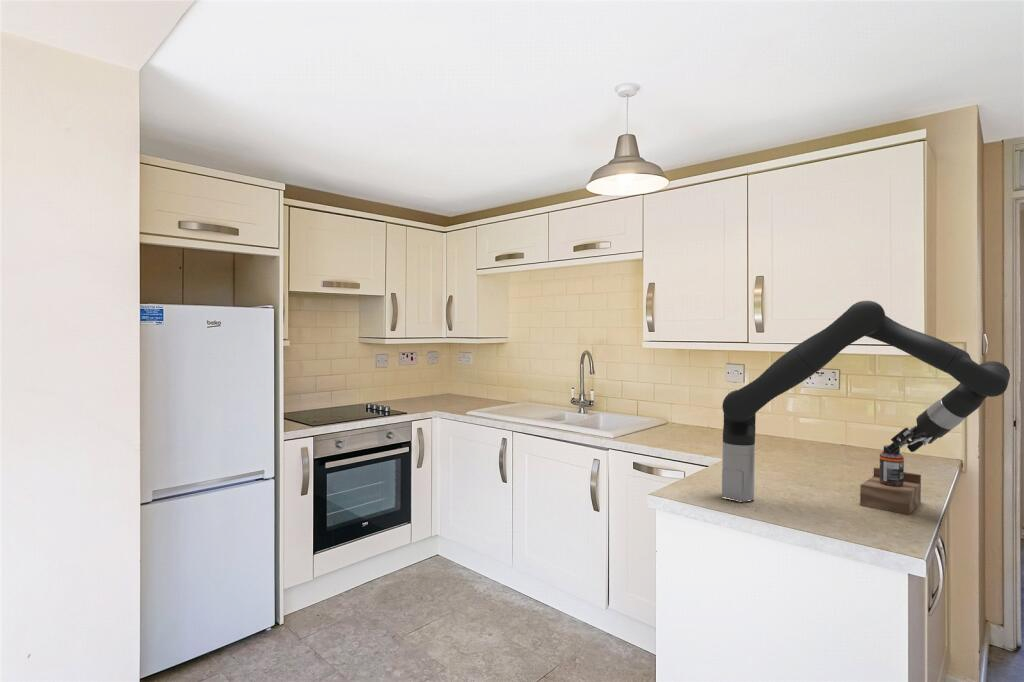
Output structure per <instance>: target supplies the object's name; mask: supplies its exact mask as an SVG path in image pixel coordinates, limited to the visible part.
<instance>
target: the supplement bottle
mask: <svg viewBox="0 0 1024 682" xmlns="http://www.w3.org/2000/svg"><path fill="white" fill-rule="evenodd" d="M889 445H890V444H888V445H887V444H886V445H883V451H882V452H881V453H879V468H880V478H879V479H880V482H881V483H882V484H885V485H888V486H902V485H903V482H904V472H905V469H904V467H905V466H904V463H905V462H904V455H903V454H901V453H900V452H901V448H900V449H899V450H898V451H897V452H895V453H894V454H890V453H889V452H888V451H887V449H886V448H887V447H888V446H889Z"/></svg>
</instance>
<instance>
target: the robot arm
mask: <svg viewBox="0 0 1024 682" xmlns="http://www.w3.org/2000/svg"><path fill="white" fill-rule="evenodd" d="M863 337H867V338H870V339H873V340H877V341H879V342H882V343H883V344H884V343H885V344H887V345H889V346H892V347H894V348H895V349H897V350H900V351H902V352H905V353H906V354H908V355H910V356H912V357H914V358H916V359H918V360H920V361H922V362H923V363H925V364H928V365H929V366H931V367H933V368H935V369H937V370H939V371H941V372H943V373H946V374H948V375H950V376H951V377H952V378H953V379H955V380H956V381H957V382H959V384H957V386H955V387H954V388H953V389H952V390H950V391H949V392H948V393H946V394H945V395H944V396H943V397H940V399H939V400H936V401H935V402H934V403H933V404H931V405H930V406H929V407H928V408H926V409H925V410H924V411H922V413H920V414H919V415H918V416H917V417H916V425H915V426H911V428H910V429H909V427H905V428H903V429H902V430H901V431H899V432H898V433H897V434H896V435H894V436H893V437H891V439H890V440H891V442H892V443H891V444H888V445H889V446H888V447H887V448H886V449H887V451H888V452H889V453H890V454H894V453H895V452H897V451H898V450H899V449H900V450H901V448H903V447H905V446H906V448H907V449H908V450H909V451H910V452H911V453H914V452H916V451H917V450H918V449H920V448H921V447H923V446H926V445H930V444H933V442H935V441H936V440H937V439H938V438H939V439H940V438H943V437H944V436H946V434H948V433H949V432H951V431H952V430H953V429H955V428H956V427H957V426H959V425H960V424H961V423H962V422H963V421H964V420H965V419H966V418H967V417H968V416H970V415H971V414H973V413H974V412H975V411H977V410H978V409H979V408H980V406H981V405H982V403H983V402H984V400H985V399H986V398H987V397H991V398H992V397H993V398H994V397H998V396H1001V395H1003V394H1004V393H1005V392H1006V390H1007V389H1008V385H1009V383H1010V377H1011V372H1010V369H1009V368H1008V366H1006V365H1005V364H1004V363H1002V362H999V361H995V360H994V361H993V360H991V361H990V360H989V361H985V362H981V363H980V364H979V363H978V362H976V361H974V360H973V359H972V358H971V355H970V354H969V353H968V352H967V351H966V350H964V349H961V348H959V347H958V346H955V345H953V344H951V343H949V342H947V341H944V340H943V339H939V338H936V337H934V336H932V335H928V334H926V333H924V332H920V331H918V330H914V329H912V328H909V327H907V326H905V325H902V324H901V323H898V322H897V321H895V320H893V319H892V318H890V317H889V316H887V315H886V312H885V309H884V308H883V307H882V305H881V304H880V303H878V302H876V301H872V300H861V301H857V302H855V303H853V304H852V305H850V306H849V308H848V309H846V310H845V312H843V313H842V314H841V315H840V316H839V317H838V318H836V319H835V320H834V321H833V322H832V323H830V324H829V325H828V326H827V327H825V328H824V329H822V330H821V331H819V332H816V333H815V334H813V335H811V336H810V337H808V338H806V339H805V340H803V341H802V342H800V343H799V344H797V345H795V346H794V347H792V349H790V350H789V351H787V352H786V353H784V354H783V355H781V356H780V357H778V358H777V360H775V361H774V362H773V363H772V364H771V365H770V366H768V367H767V369H766V370H764V371H763V372H762V373H761V374H760V375H759V376H758V377H757V378H756V379H754V380H753V381H750V382H749V383H748V384H747V385H745V386H742V387H741V388H739V389H736V390H733V391H730V392H728V393H727V395H726V396H725V397H724V399H723V402H722V407H721V408H722V412H723V427H722V457H721V458H722V460H721V461H722V464H721V465H722V468H721V482H722V483H721V498H722V497H726V498H730V499H734V500H738V501H748V500H753V499H754V500H755V471H756V470H755V464H756V463H755V462H756V460H755V459H756V456H755V455H756V453H755V451H756V420H757V419H756V416H757V415H756V413H758V412H759V410H761V409H762V408H764V406H766V405H767V404H768V403H769V402H771V401H772V400H774V398H777V397H778V396H780V395H782V394H784V393H786V392H787V391H790V390H792V389H793V388H795V387H797V386H798V385H800V384H801V383H803V382H805V381H806V380H807V379H808V378H810V377H812V376H813V375H814V374H816V373H818V372H819V371H821V369H823V368H824V367H825V366H827V364H828V363H830V362H831V361H832V360H833V359H834V358H835V357H836V356H837V355H838V354H840V353H841V352H842V350H844V349H846V348H847V347H849V346H850V345H852V344H853V343H855V342H856V341H858V340H860V339H862V338H863Z"/></svg>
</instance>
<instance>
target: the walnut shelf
mask: <svg viewBox="0 0 1024 682" xmlns="http://www.w3.org/2000/svg"><path fill="white" fill-rule="evenodd" d="M879 478H880V467H873V476H871V477H870V478H869V479H867V480H866V481H864V482H863V483H861V484H860V488H859V489H860V490H859V491H860V492H859V493H860V494H859V495H860V496H859V497H860V498H859V499H860V500H859V505H860V506H864V507H869V508H873V509H879V510H883V511H888V512H894V513H898V514H902V515H907V516H909V515H911V513H912V512H913V511H914V510H915V509H916V508H917V507H918V506H919V505H920V504H921V501H922V500H921V499H922V497H921V496H922V495H921V493H922V491H921V490H922V489H921V488H922V474H919V473H912V472H907V471H904V482H903V485H902V486H888V485H885V484H882V483H881V482H880V479H879Z"/></svg>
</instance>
